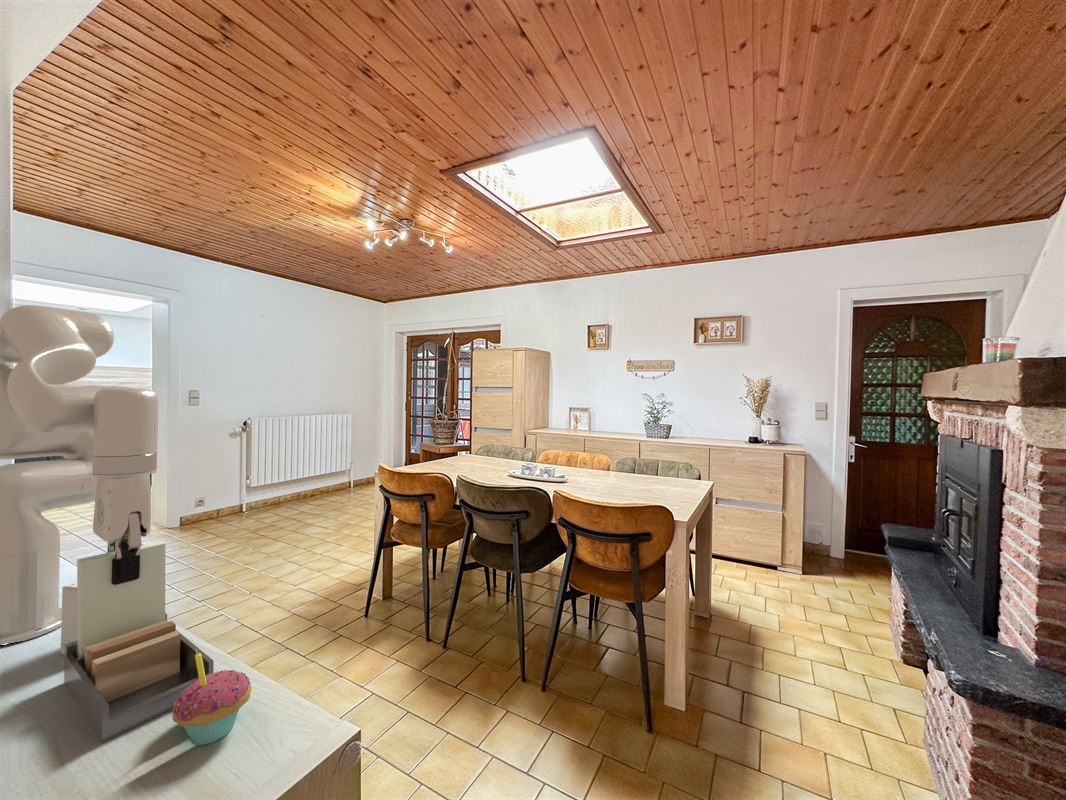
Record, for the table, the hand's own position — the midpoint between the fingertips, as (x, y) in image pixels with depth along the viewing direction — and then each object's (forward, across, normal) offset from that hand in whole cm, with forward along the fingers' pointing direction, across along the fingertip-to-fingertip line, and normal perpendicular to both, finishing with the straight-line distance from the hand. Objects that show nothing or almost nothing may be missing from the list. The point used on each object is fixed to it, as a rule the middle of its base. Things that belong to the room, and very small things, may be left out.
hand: (123, 578), depth 69 cm
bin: (+15, +8, 0) cm, 17 cm away
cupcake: (+16, +25, +3) cm, 30 cm away
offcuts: (+14, +6, 0) cm, 16 cm away
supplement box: (+16, -11, 0) cm, 19 cm away
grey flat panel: (+11, 0, 0) cm, 11 cm away
